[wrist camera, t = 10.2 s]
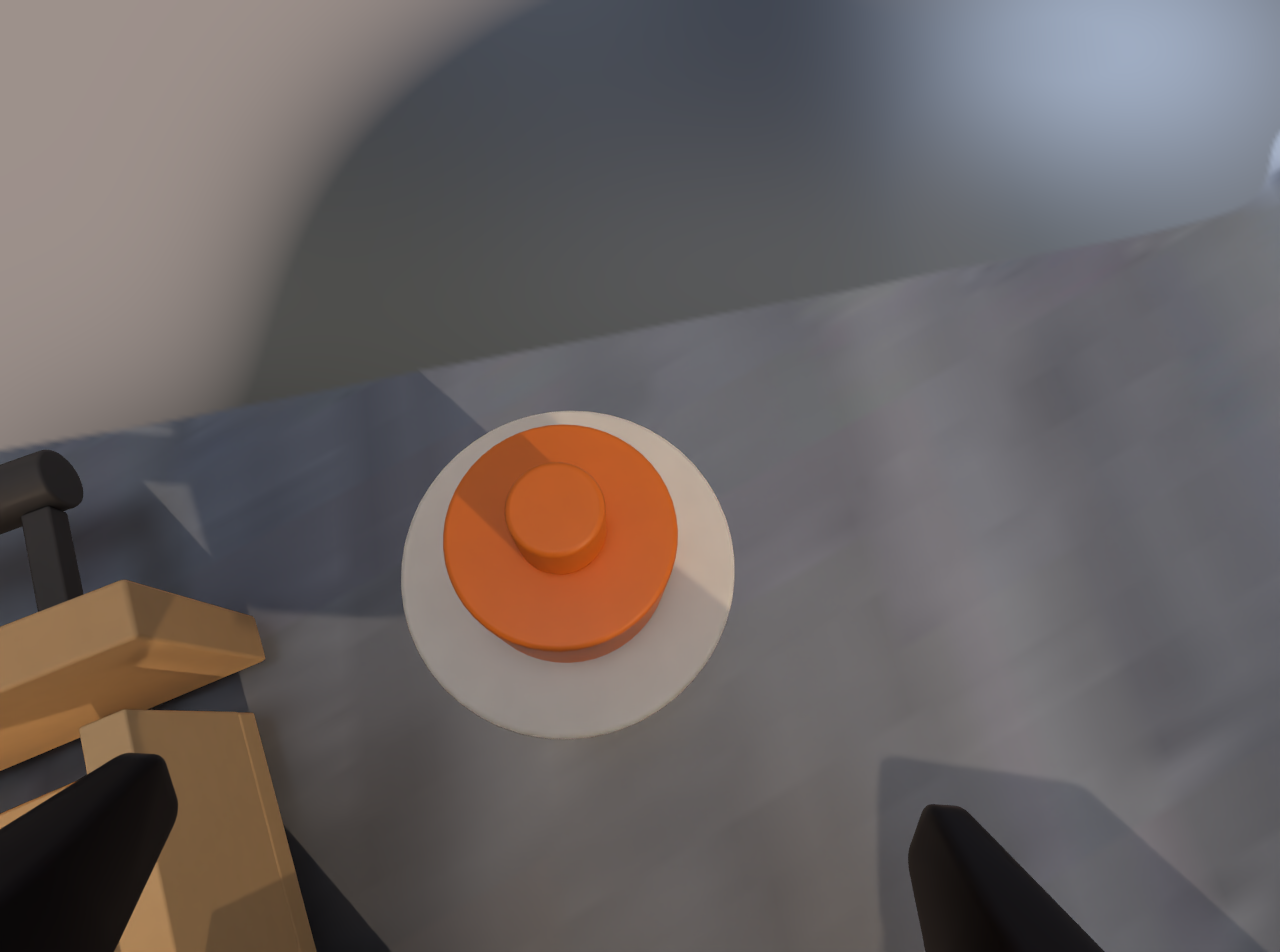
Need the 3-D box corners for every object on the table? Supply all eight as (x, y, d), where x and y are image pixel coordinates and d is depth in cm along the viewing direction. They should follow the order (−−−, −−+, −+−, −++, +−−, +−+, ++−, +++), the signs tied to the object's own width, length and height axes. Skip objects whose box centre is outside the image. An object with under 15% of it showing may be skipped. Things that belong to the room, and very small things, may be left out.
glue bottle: (702, 685, 18) (863, 625, 7) (543, 761, 18) (407, 842, 6) (633, 533, 20) (665, 256, 8) (482, 598, 19) (269, 398, 7)
